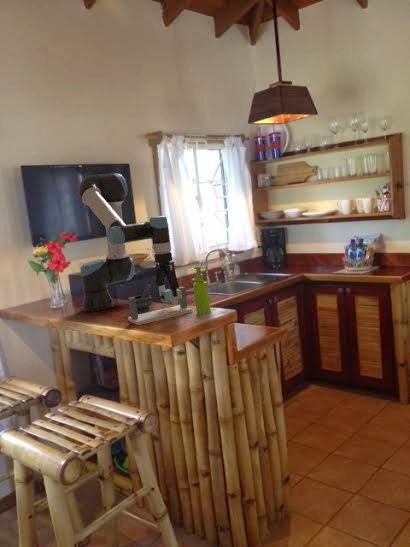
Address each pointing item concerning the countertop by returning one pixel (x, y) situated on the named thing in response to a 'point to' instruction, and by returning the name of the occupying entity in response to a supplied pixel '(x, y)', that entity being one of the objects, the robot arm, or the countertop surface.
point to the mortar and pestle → (144, 306)
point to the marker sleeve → (166, 296)
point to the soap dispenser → (201, 292)
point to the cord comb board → (158, 314)
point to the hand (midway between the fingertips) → (169, 301)
